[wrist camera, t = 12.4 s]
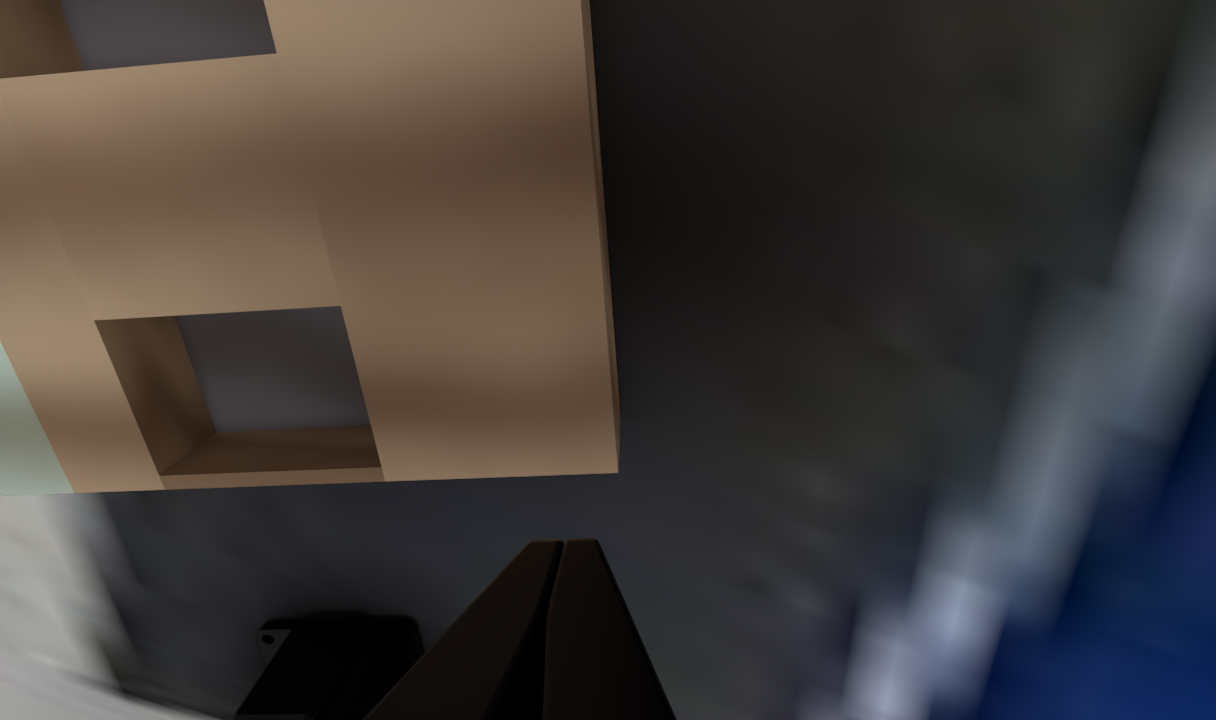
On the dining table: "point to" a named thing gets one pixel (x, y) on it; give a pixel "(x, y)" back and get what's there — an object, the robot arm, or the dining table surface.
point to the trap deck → (301, 244)
